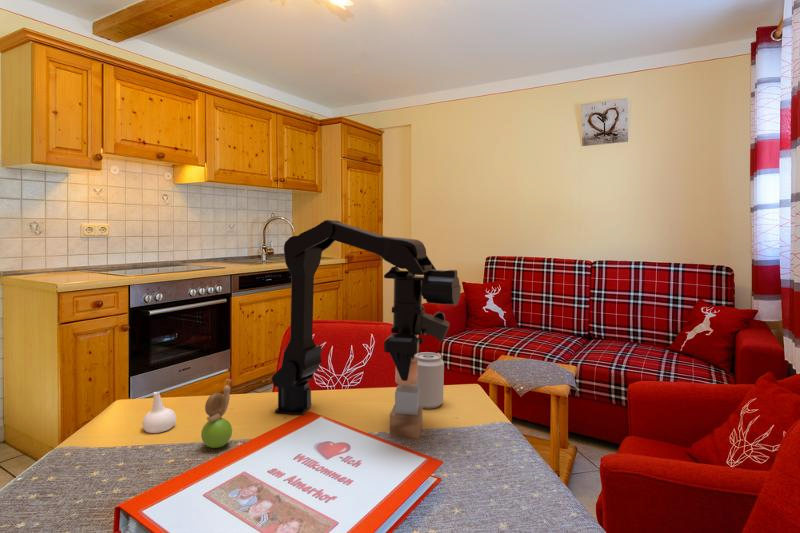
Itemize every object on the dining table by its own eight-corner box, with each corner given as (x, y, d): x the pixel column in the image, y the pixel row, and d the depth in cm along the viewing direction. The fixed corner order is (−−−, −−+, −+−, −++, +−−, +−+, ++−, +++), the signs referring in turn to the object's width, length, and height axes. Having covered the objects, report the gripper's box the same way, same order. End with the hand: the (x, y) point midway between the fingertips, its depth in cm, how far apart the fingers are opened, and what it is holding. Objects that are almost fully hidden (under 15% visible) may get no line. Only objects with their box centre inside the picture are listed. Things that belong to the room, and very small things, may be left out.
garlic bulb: (182, 423, 99) (181, 387, 98) (163, 436, 93) (162, 397, 92) (156, 421, 100) (155, 385, 99) (135, 433, 94) (134, 395, 93)
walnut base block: (389, 437, 94) (389, 415, 93) (394, 425, 100) (394, 404, 99) (419, 439, 93) (419, 417, 93) (422, 427, 99) (422, 406, 99)
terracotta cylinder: (393, 384, 94) (394, 362, 94) (397, 377, 98) (397, 356, 98) (415, 386, 93) (416, 363, 93) (418, 379, 98) (418, 357, 97)
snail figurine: (241, 440, 91) (241, 380, 90) (218, 455, 85) (217, 390, 84) (218, 436, 93) (218, 377, 92) (194, 450, 87) (193, 387, 86)
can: (443, 399, 115) (444, 351, 114) (442, 410, 108) (444, 359, 107) (412, 397, 116) (413, 350, 115) (410, 409, 108) (411, 358, 108)
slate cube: (394, 413, 94) (395, 391, 94) (397, 405, 99) (398, 384, 99) (417, 414, 94) (417, 393, 93) (419, 406, 98) (419, 385, 98)
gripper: (445, 310, 84) (442, 395, 85) (449, 296, 102) (448, 366, 104) (384, 308, 86) (382, 391, 87) (399, 294, 104) (398, 363, 105)
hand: (406, 376), depth 96 cm, fingers closed on terracotta cylinder, 4 cm apart
